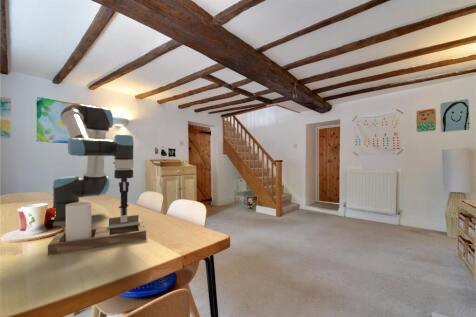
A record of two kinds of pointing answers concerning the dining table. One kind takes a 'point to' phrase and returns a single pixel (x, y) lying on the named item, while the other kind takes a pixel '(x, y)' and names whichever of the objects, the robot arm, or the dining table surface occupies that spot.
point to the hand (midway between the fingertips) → (123, 221)
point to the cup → (78, 221)
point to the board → (97, 238)
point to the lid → (115, 222)
